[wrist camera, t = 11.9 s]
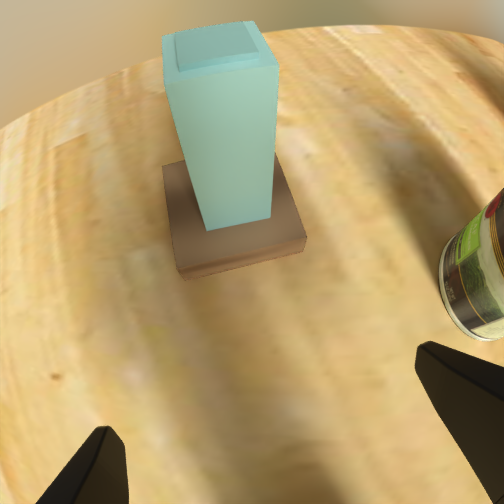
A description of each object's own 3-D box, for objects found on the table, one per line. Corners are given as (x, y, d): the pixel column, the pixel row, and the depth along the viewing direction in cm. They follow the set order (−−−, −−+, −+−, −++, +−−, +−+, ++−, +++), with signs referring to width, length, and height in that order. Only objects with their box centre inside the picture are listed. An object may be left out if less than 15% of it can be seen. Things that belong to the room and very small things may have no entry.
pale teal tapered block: (270, 217, 23) (279, 58, 11) (206, 231, 22) (162, 77, 10) (255, 168, 24) (253, 14, 12) (197, 179, 24) (160, 30, 12)
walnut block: (302, 254, 25) (307, 237, 22) (186, 282, 24) (176, 268, 21) (270, 163, 28) (270, 141, 25) (170, 186, 28) (162, 166, 25)
